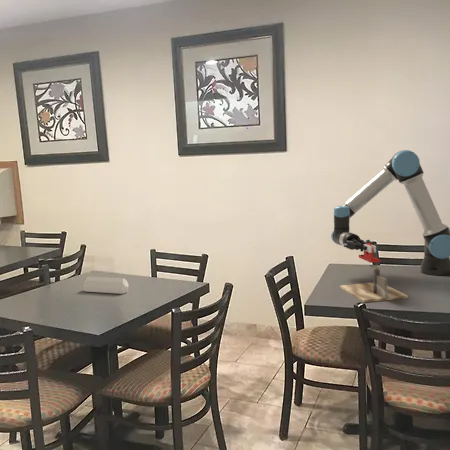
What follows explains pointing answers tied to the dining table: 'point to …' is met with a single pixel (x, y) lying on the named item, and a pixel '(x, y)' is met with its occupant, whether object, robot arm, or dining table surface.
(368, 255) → the bracket
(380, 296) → the hinge mount
